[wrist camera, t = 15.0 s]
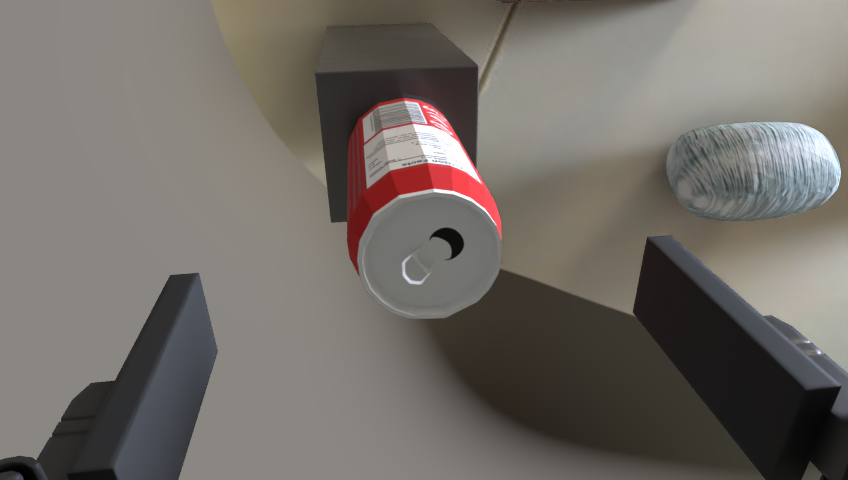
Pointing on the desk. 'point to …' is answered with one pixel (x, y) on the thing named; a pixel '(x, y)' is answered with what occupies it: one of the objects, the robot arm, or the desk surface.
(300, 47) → the desk surface
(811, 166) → the yarn skein
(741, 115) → the desk surface
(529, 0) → the can rack
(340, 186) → the block
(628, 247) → the desk surface
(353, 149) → the soda can
